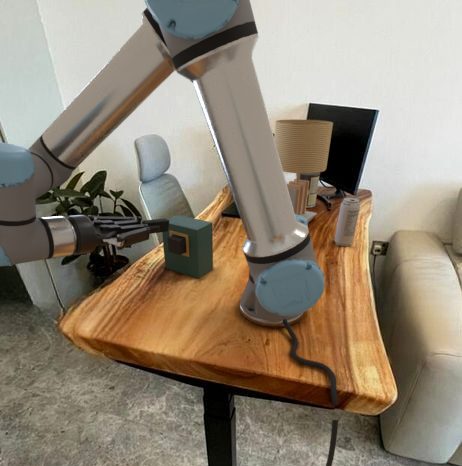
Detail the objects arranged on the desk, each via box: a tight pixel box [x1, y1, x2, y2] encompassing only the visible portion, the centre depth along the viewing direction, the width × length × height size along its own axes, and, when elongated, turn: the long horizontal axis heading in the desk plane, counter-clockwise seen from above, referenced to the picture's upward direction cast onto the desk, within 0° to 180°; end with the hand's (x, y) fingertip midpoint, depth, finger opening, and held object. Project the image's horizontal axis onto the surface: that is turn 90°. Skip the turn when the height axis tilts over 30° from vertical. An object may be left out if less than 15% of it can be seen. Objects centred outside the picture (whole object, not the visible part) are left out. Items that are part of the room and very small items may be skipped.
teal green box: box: [161, 214, 214, 279], centre depth 98 cm, size 7×12×14 cm, turn 59°
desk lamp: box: [273, 119, 334, 223], centre depth 130 cm, size 20×20×35 cm
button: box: [168, 235, 186, 255], centre depth 95 cm, size 5×4×4 cm
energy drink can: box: [334, 197, 361, 247], centre depth 116 cm, size 6×6×15 cm
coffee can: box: [295, 172, 321, 209], centre depth 156 cm, size 10×10×14 cm
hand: (166, 224), depth 84 cm, fingers closed
